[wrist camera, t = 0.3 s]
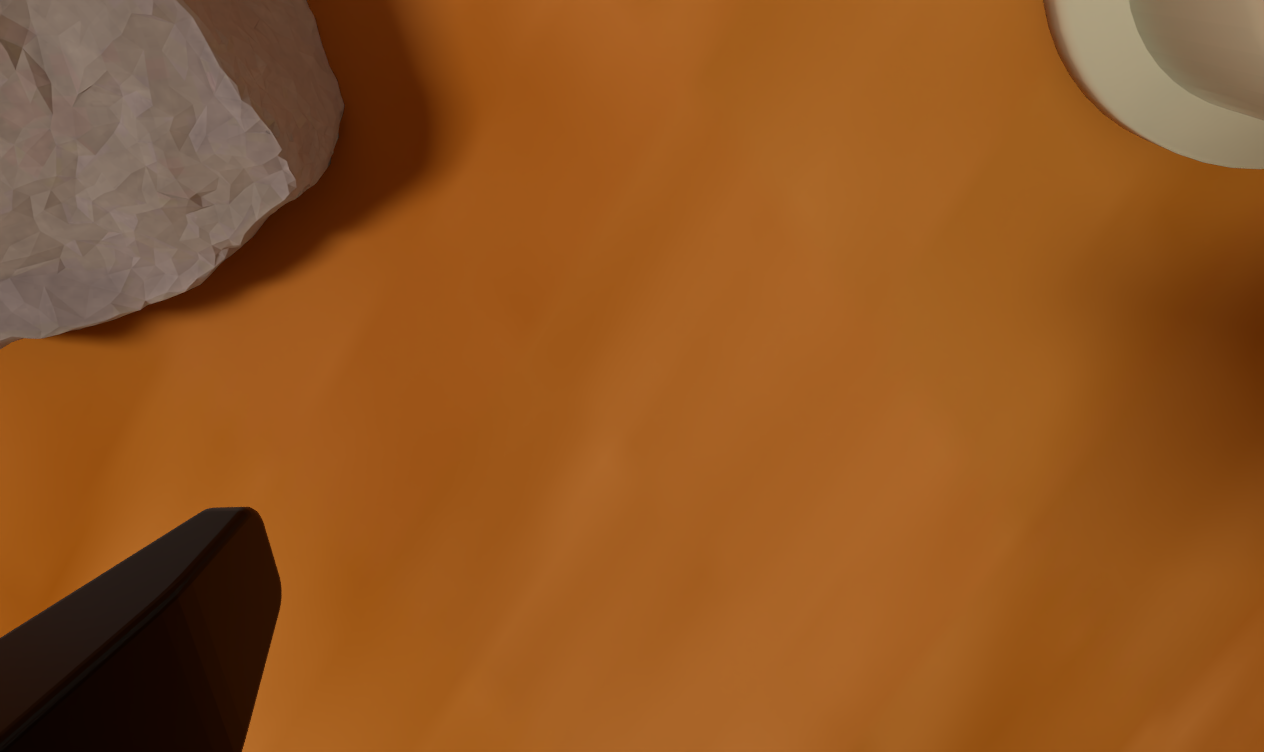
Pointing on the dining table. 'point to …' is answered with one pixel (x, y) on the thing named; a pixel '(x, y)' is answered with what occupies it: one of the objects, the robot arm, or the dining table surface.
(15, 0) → the stone block
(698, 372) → the dining table surface
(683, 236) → the dining table surface
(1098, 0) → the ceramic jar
